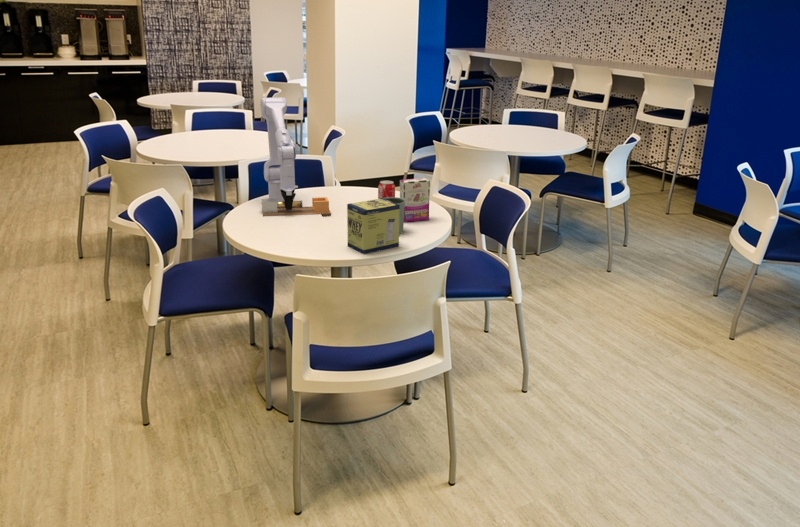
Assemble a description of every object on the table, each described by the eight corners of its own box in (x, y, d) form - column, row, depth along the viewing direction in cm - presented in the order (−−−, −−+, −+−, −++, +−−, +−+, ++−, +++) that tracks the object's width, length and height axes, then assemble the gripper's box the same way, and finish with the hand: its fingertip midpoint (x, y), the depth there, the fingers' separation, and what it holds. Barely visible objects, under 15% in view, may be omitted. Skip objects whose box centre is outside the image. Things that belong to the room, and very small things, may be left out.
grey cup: (401, 235, 252) (402, 204, 248) (375, 233, 254) (375, 202, 250) (406, 228, 261) (407, 197, 257) (381, 226, 263) (381, 195, 259)
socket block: (312, 208, 281) (312, 197, 280) (327, 207, 282) (326, 197, 281) (314, 212, 275) (313, 201, 274) (328, 212, 276) (328, 201, 275)
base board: (261, 210, 280) (261, 208, 279) (327, 208, 285) (327, 206, 285) (262, 218, 269) (262, 216, 268) (331, 216, 274) (330, 213, 274)
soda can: (374, 209, 285) (374, 181, 281) (388, 206, 290) (388, 179, 285) (384, 213, 280) (384, 184, 276) (398, 210, 284) (398, 182, 280)
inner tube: (262, 208, 275) (261, 200, 274) (301, 207, 278) (301, 198, 277) (262, 211, 272) (261, 202, 271) (302, 209, 275) (302, 200, 274)
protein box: (346, 246, 239) (346, 203, 234) (382, 238, 248) (383, 197, 243) (363, 254, 231) (363, 210, 226) (399, 246, 240) (400, 203, 235)
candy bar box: (424, 217, 276) (425, 177, 270) (429, 220, 272) (430, 180, 266) (398, 219, 272) (399, 179, 266) (403, 222, 268) (404, 182, 262)
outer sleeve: (262, 210, 276) (261, 199, 274) (277, 210, 277) (276, 198, 275) (262, 213, 272) (261, 202, 270) (277, 213, 273) (277, 201, 271)
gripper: (298, 179, 265) (299, 212, 270) (296, 171, 278) (297, 203, 283) (280, 179, 264) (281, 213, 268) (278, 171, 277) (279, 204, 282)
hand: (288, 208), depth 276 cm, fingers closed on inner tube, 4 cm apart
